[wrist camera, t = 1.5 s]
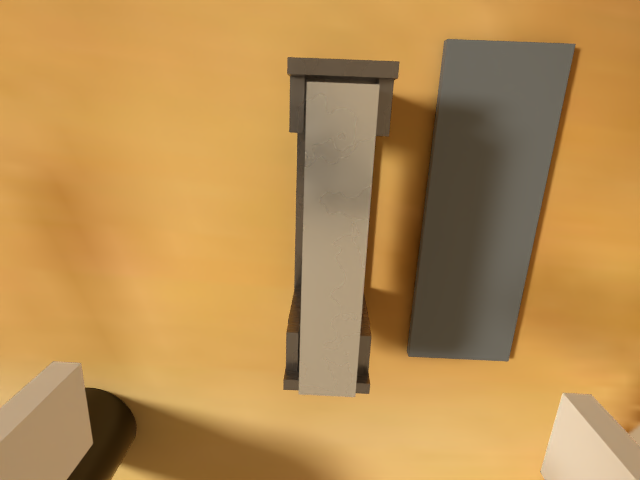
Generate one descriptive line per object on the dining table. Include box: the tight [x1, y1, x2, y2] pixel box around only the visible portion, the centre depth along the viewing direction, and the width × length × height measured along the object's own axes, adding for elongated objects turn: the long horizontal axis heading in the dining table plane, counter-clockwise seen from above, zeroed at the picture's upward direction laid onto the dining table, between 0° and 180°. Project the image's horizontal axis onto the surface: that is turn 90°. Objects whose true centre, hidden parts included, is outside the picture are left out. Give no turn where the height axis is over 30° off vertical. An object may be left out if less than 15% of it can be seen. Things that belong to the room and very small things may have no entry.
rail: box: [299, 82, 380, 397], centre depth 24 cm, size 18×4×4 cm, turn 178°
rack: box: [284, 57, 399, 394], centre depth 28 cm, size 21×6×10 cm, turn 178°
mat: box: [407, 39, 575, 361], centre depth 32 cm, size 26×9×1 cm, turn 178°
